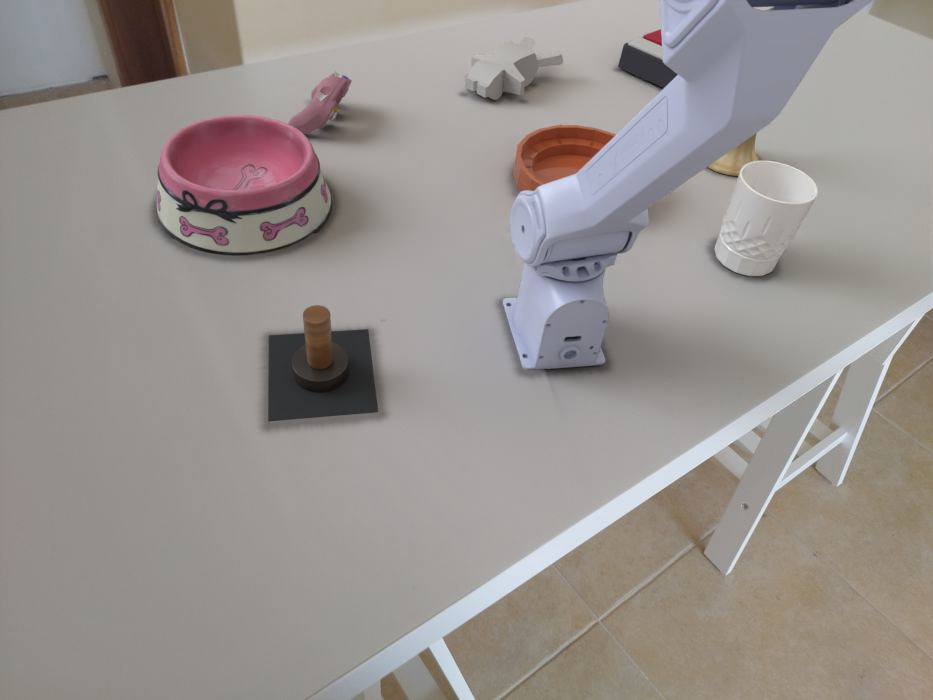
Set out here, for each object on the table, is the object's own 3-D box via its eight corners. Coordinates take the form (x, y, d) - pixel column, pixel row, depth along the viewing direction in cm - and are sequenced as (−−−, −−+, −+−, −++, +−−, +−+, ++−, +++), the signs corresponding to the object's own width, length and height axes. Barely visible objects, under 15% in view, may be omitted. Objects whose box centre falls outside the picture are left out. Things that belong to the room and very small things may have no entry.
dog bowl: (356, 179, 86) (355, 126, 81) (287, 275, 74) (281, 219, 69) (212, 145, 89) (203, 92, 84) (121, 233, 76) (104, 176, 71)
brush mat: (378, 414, 62) (378, 411, 62) (268, 423, 61) (268, 420, 60) (367, 331, 69) (367, 328, 69) (269, 338, 67) (268, 335, 67)
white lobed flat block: (450, 58, 101) (522, 20, 108) (451, 92, 105) (520, 53, 112) (501, 84, 97) (572, 43, 104) (499, 118, 101) (568, 76, 108)
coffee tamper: (350, 390, 63) (348, 332, 58) (293, 394, 62) (286, 336, 57) (347, 350, 67) (344, 292, 62) (292, 354, 66) (285, 295, 61)
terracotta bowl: (664, 222, 86) (673, 197, 83) (530, 228, 83) (534, 201, 80) (620, 148, 96) (626, 124, 94) (500, 150, 94) (503, 125, 91)
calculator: (735, 44, 114) (686, 65, 105) (725, 71, 117) (677, 94, 108) (675, 20, 118) (623, 38, 110) (667, 46, 121) (616, 66, 113)
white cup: (695, 241, 83) (725, 165, 76) (751, 231, 86) (785, 156, 79) (735, 286, 79) (771, 208, 71) (794, 274, 81) (834, 197, 74)
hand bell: (689, 164, 95) (732, 42, 84) (702, 136, 101) (744, 18, 89) (753, 183, 93) (805, 61, 82) (763, 154, 99) (813, 35, 87)
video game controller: (315, 151, 92) (338, 110, 88) (283, 131, 91) (304, 87, 87) (340, 114, 99) (362, 74, 95) (310, 95, 98) (331, 53, 93)
